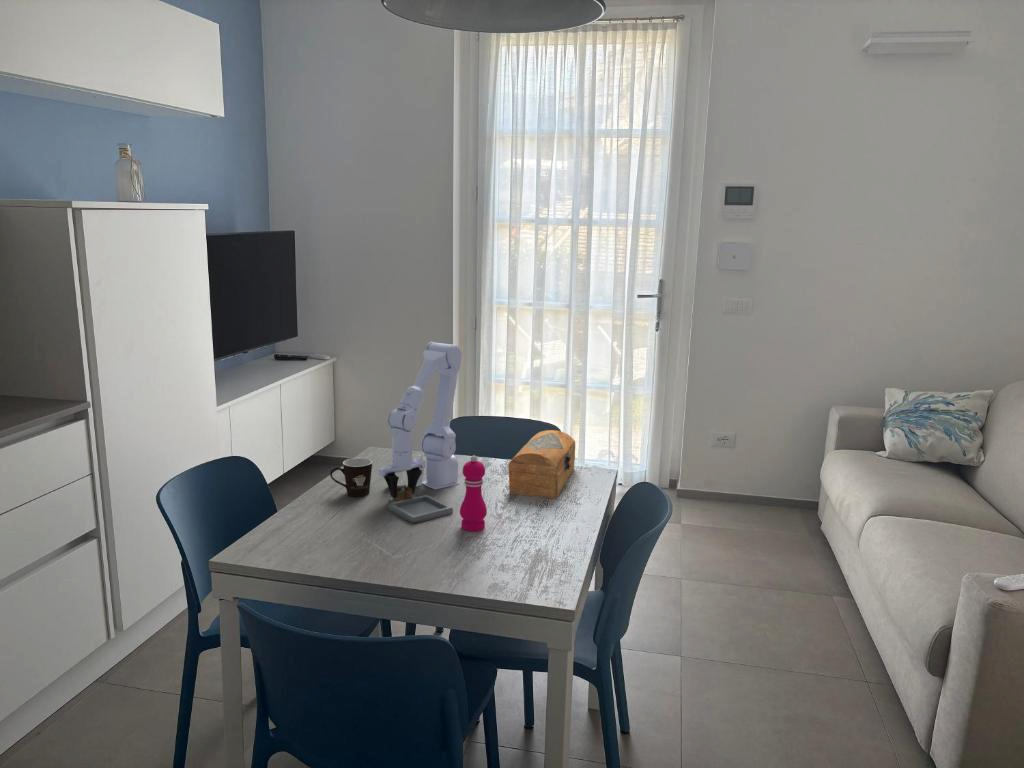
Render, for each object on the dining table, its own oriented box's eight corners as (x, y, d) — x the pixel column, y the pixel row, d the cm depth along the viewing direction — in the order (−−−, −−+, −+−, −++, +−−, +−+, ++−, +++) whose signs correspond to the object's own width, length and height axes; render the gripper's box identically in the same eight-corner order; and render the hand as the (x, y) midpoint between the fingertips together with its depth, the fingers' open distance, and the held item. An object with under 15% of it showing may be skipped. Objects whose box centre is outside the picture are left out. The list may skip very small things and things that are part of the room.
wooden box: (559, 501, 234) (561, 456, 231) (506, 495, 238) (507, 450, 235) (579, 471, 262) (580, 431, 259) (531, 466, 266) (532, 426, 264)
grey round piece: (406, 493, 236) (406, 479, 236) (421, 501, 230) (421, 486, 230) (383, 499, 231) (383, 484, 231) (398, 506, 225) (397, 491, 224)
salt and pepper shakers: (388, 491, 238) (387, 456, 236) (384, 487, 242) (383, 452, 240) (425, 486, 243) (425, 451, 241) (421, 482, 247) (421, 448, 245)
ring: (403, 493, 235) (403, 483, 235) (417, 500, 230) (417, 490, 229) (387, 497, 232) (387, 487, 231) (401, 504, 226) (401, 494, 226)
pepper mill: (490, 524, 214) (491, 453, 210) (480, 534, 207) (481, 460, 203) (465, 520, 216) (466, 450, 212) (455, 530, 209) (456, 457, 206)
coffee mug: (376, 490, 239) (375, 458, 237) (368, 500, 230) (367, 467, 228) (338, 488, 240) (338, 456, 238) (329, 497, 231) (328, 465, 229)
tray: (426, 500, 231) (426, 494, 231) (452, 513, 221) (452, 507, 221) (388, 509, 223) (388, 503, 222) (413, 523, 213) (413, 517, 213)
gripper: (415, 443, 235) (415, 486, 238) (373, 451, 226) (373, 496, 229) (429, 448, 230) (429, 492, 233) (385, 456, 221) (386, 502, 224)
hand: (402, 494), depth 231 cm, fingers closed on ring, 5 cm apart
